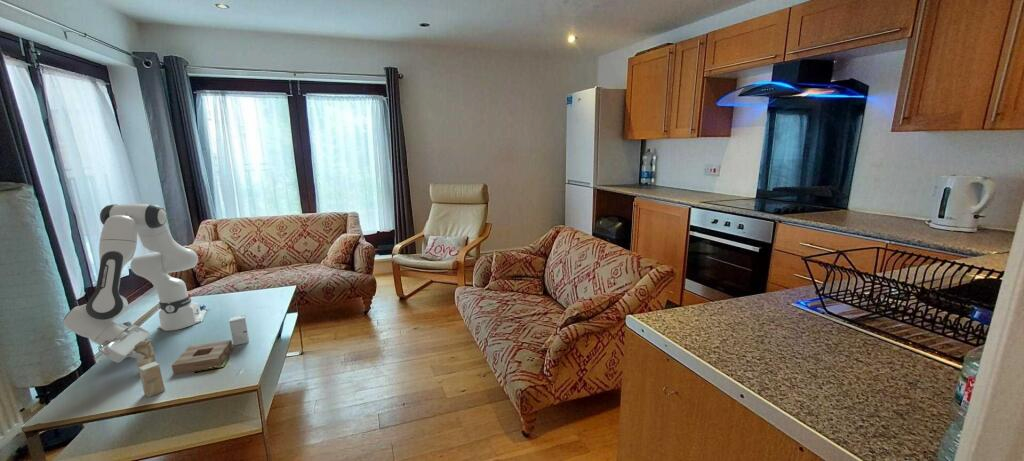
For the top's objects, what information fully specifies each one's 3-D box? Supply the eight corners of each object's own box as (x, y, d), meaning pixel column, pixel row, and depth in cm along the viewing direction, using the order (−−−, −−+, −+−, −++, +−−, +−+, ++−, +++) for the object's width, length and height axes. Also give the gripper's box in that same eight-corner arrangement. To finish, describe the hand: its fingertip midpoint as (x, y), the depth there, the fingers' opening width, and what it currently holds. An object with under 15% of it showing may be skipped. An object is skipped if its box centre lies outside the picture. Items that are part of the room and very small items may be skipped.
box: (148, 397, 150) (141, 370, 147) (144, 394, 152) (136, 367, 149) (166, 390, 154) (159, 363, 151) (161, 386, 156) (154, 360, 154)
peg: (145, 367, 170) (138, 341, 167) (157, 365, 171) (150, 339, 168) (139, 373, 166) (131, 346, 163) (152, 371, 167) (145, 344, 164)
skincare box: (233, 346, 185) (228, 321, 183) (234, 342, 189) (228, 317, 186) (249, 342, 188) (244, 318, 186) (249, 338, 192) (244, 314, 189)
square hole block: (191, 354, 179) (189, 346, 178) (233, 348, 184) (231, 339, 183) (173, 374, 164) (171, 365, 163) (219, 366, 169) (217, 357, 168)
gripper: (100, 342, 153) (139, 360, 158) (132, 319, 172) (165, 336, 177) (89, 355, 152) (127, 373, 157) (122, 331, 171) (155, 347, 176)
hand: (148, 353), depth 167 cm, fingers open, 4 cm apart
